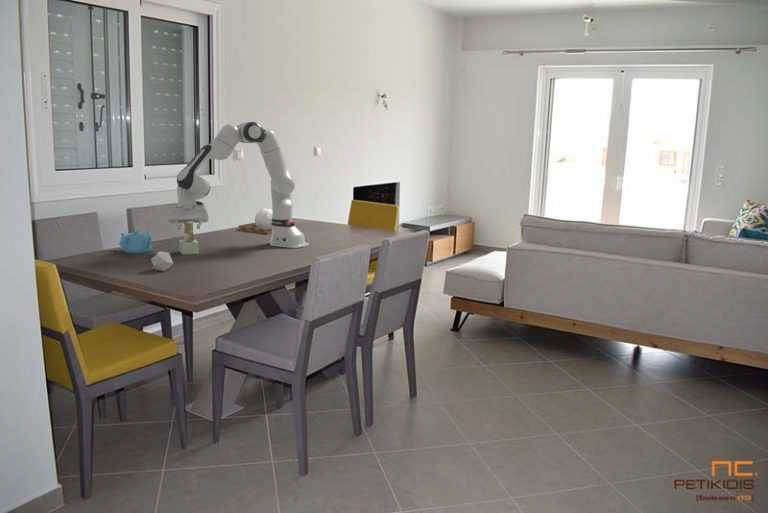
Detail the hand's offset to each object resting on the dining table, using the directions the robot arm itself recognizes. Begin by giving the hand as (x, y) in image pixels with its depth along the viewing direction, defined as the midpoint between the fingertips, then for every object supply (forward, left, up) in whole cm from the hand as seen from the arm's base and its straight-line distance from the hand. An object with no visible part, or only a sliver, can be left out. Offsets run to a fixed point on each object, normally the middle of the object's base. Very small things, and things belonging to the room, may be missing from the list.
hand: (188, 228), depth 327 cm
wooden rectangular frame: (+17, -80, -13) cm, 83 cm away
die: (-20, +35, -13) cm, 42 cm away
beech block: (0, 0, -7) cm, 7 cm away
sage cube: (+1, 0, -13) cm, 13 cm away
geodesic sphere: (+17, -80, -13) cm, 83 cm away
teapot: (+22, +14, -13) cm, 29 cm away
